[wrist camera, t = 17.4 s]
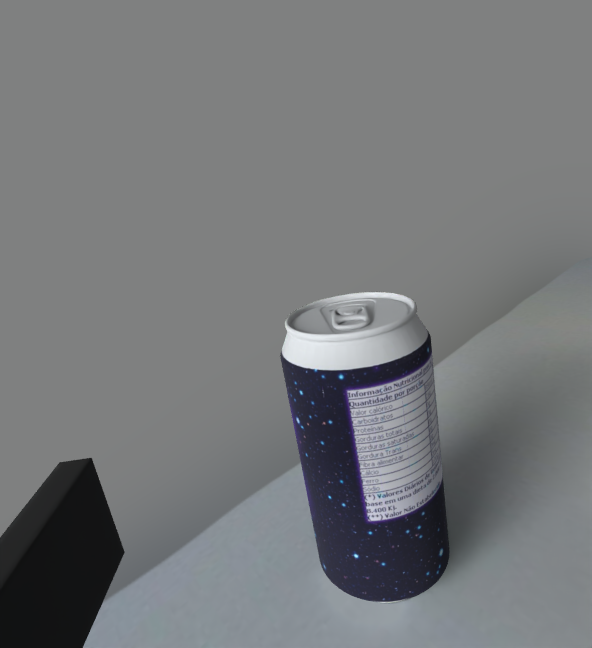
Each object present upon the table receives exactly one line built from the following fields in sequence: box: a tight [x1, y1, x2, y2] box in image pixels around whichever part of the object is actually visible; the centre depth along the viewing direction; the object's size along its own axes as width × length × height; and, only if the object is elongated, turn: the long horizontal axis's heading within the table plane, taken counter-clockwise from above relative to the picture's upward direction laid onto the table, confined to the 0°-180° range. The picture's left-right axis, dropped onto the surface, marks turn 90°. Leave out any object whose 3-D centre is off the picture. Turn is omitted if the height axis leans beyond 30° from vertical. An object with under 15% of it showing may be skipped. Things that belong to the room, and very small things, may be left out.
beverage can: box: [281, 292, 449, 603], centre depth 20 cm, size 6×6×12 cm
